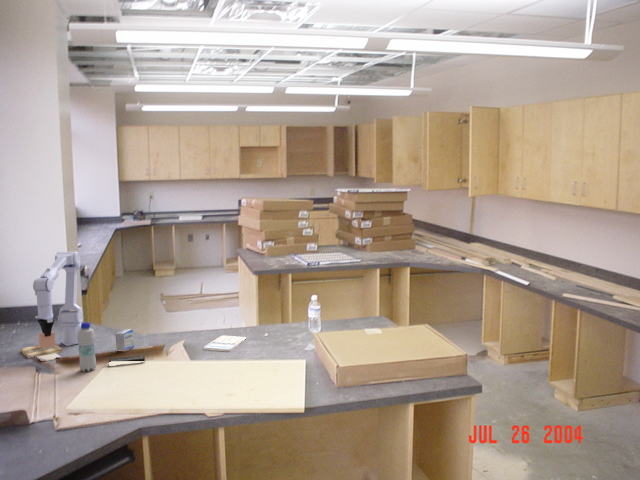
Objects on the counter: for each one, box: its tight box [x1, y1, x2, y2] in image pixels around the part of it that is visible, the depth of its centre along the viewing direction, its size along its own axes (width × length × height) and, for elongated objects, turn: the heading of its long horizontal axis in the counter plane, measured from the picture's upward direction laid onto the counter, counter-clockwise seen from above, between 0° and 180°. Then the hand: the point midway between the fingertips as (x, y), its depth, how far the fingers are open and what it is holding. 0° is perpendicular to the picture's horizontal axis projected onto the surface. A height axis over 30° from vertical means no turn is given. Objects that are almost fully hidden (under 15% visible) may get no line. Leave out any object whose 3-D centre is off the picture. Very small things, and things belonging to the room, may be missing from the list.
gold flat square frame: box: [20, 343, 63, 360], centre depth 256 cm, size 14×14×2 cm
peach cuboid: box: [37, 330, 56, 348], centre depth 246 cm, size 6×2×6 cm, turn 130°
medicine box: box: [115, 328, 135, 352], centre depth 257 cm, size 8×4×9 cm, turn 168°
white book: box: [203, 334, 247, 352], centre depth 263 cm, size 13×20×2 cm, turn 164°
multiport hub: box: [107, 355, 146, 363], centre depth 238 cm, size 4×14×2 cm, turn 107°
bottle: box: [77, 321, 97, 372], centre depth 229 cm, size 7×7×20 cm
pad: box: [38, 353, 61, 362], centre depth 247 cm, size 8×8×1 cm
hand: (47, 335), depth 246 cm, fingers closed on peach cuboid, 2 cm apart
